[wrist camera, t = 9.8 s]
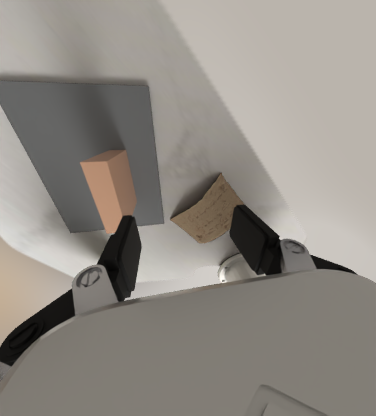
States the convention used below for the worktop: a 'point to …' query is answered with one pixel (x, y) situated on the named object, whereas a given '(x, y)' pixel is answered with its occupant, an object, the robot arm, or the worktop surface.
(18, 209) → the worktop surface
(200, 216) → the cork arch piece
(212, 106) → the worktop surface
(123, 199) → the block
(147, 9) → the worktop surface
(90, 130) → the mat
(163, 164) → the worktop surface
